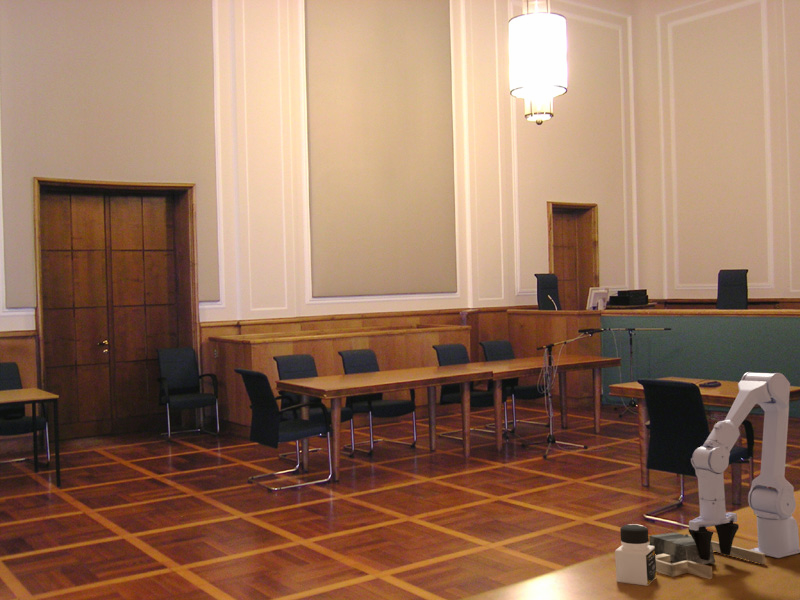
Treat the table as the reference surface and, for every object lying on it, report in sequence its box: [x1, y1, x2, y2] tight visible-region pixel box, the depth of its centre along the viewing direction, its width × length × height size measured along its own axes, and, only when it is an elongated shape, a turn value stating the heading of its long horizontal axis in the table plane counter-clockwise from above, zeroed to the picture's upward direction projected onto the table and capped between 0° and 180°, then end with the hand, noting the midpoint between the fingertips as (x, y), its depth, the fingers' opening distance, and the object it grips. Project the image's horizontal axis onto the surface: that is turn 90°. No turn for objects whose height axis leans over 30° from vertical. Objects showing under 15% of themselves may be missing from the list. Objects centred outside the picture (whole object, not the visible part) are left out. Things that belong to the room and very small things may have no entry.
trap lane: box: [649, 534, 766, 580], centre depth 196 cm, size 24×23×2 cm
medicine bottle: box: [614, 523, 657, 587], centre depth 184 cm, size 7×7×12 cm
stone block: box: [648, 532, 716, 565], centre depth 199 cm, size 9×14×5 cm, turn 18°
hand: (715, 556), depth 192 cm, fingers open, 7 cm apart
